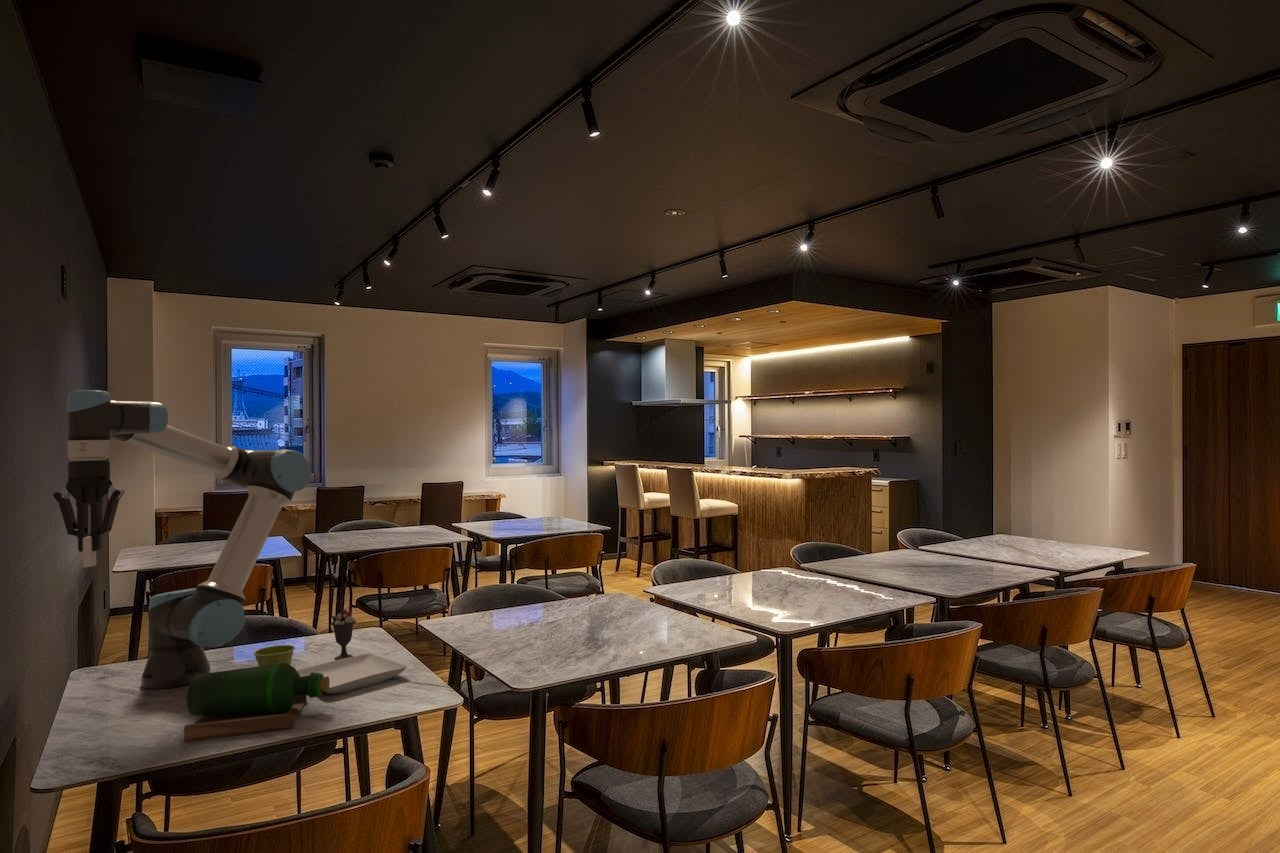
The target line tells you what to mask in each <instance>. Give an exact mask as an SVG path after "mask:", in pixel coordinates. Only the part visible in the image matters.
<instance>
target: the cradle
mask: <svg viewBox="0 0 1280 853" xmlns="http://www.w3.org/2000/svg"><path fill="white" fill-rule="evenodd" d="M306 702H307V696H299V697H298V699H297V700H296V702H295V703H294V704H293V705H292V707H291V708H289V709H288V710H286V711H285V712H284V713H266V714H238V715H210V716H203V717H202V719H201V720H200V721H199V722H198V723H191V724H185V725H184V727H183V737H184V738H183V741H184V742H193V741H201V740H209V739H217V738H218V739H219V738H225V737H234V736H243V735H252V734H261V733H269V732H277V731H284V730H285V731H286V730H292V728H293V727H294V725H295V723H296V722H297V719H298V717H299V715H300V714H301V712H302V710H303V708H304V706H305V705H306Z"/></svg>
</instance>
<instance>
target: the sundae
mask: <svg viewBox="0 0 1280 853" xmlns="http://www.w3.org/2000/svg"><path fill="white" fill-rule="evenodd" d="M352 605H353V604H352V603H349V605H348V606H347V607H346V608H345V609H343V610H342V611H341V612H340V613H338V614H337V615H336V616H334V615H331V618H332V622H330V623H329V624H330V625H331V626H332V627H333V630H334V639H335V642H336V643H337V645H339V646H340V647H341V652H340V654H339V655H338V656H336V657H334V661H335V660H340V659H344V658H349V657H354V655H353V654H348V652H347V645H348V644H349V643H350V642H352V636H353V631H354V630H353V629H354V625H355V624H356V623H357V620H356V619H355V618H354V616H353V615H352V612H351V611H350V608H351V606H352Z"/></svg>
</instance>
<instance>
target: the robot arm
mask: <svg viewBox="0 0 1280 853" xmlns="http://www.w3.org/2000/svg"><path fill="white" fill-rule="evenodd" d="M66 405H67V406H66V413H67V414H66V415H67V418H66V420H67V458H68V459H69V460H71V461H68V462H67V482H66V483H65V487H64V488H63V489H62V490H60V491H57V492H53V494H52V496H53V498H54V499H55V500H56V501H57V503H58V506H59V508H60V512H61V516H62V520H63V522H64V526H65V530H66V532H67V535H69V536H74V537H77V550H78V552H79V553H81V552H82V568H92V567H95V566H96V565H97V551H101V549H102V536H103V535H104V534H107V533H109V532H111V531H112V529H113V528H112V527H113V524H114V520H115V517H116V513H117V510H118V507H119V502H120V499H121V498H122V497H123V495H124V494H125V491H124V490H123V489H119V488H117V487H115V486H113V482H112V480H111V461H110V460H108V458H110V457H111V438H113V439H115V440H119V441H122V442H124V443H128V444H130V445H133V446H136V447H139V448H142V449H145V450H147V451H151V452H153V453H156V454H160V455H162V456H164V457H168V458H171V459H174V460H177V461H179V462H182V463H185V464H187V465H192V466H194V467H197V468H200V469H202V470H205V471H209V472H211V473H213V475H214V476H215V478H218V479H220V480H223V481H226V482H229V483H231V484H234V485H236V486H239V487H241V488H245V489H246V492H247V493H248V494H247V495H248V498H247V499H246V501H245V504H244V506H243V508H242V510H241V512H240V514H239V516H238V517H237V520H236V522H235V524H234V526H233V528H232V530H231V531H230V535H229V536H228V538H227V540H226V542H225V545H224V546H223V547H222V550H221V552H220V555H219V556H218V558H217V561H216V563H215V565H214V567H213V569H212V570H211V572H210V575H209V576H208V579H207V580H205V581H203V582H202V583H199V584H198V585H197V586H196V587H193V588H187V589H185V588H184V589H179V590H174V591H168V592H163V593H159V594H155V595H153V596H151V598H150V600H149V604H148V627H149V628H148V630H149V631H148V632H149V633H148V634H149V636H148V638H149V639H148V640H149V641H148V642H149V652H148V653H149V655H148V656H147V657H148V658H147V659H146V662H145V667H144V668H143V672H142V675H141V687H142V688H144V689H148V690H149V689H151V690H163V689H171V688H177V687H183V686H189V685H190V683H191V681H192V679H193V678H194V677H195V676H197V675H199V674H206V673H211V664H210V661H209V659H208V657H207V654H206V652H205V649H204V647H211V648H212V647H220V646H223V645H226V644H227V643H230V642H231V641H232V640H234V639H235V638H236V637H237V636H238V635H239V634H240V632H241V631H242V629H243V628H244V625H245V620H246V615H245V609H244V607H243V605H244V603H245V600H246V596H245V594H244V593H243V592H244V591H243V590H244V589H245V586H246V584H247V582H248V580H249V577H250V576H251V573H252V571H253V569H254V566H255V565H256V562H257V560H258V559H259V556H260V554H261V552H262V550H263V548H264V545H265V543H266V541H267V539H268V537H269V535H270V533H271V530H272V529H273V526H274V524H275V521H276V520H277V517H278V516H279V513H280V511H281V509H282V507H285V506H287V505H289V504H290V503H291V501H292V499H293V497H294V495H295V493H297V492H300V491H301V490H303V489H305V488H306V487H307V485H308V484H309V482H310V480H311V466H309V465H310V464H309V461H308V460H307V458H306V456H304V455H303V454H302V453H301V452H299V451H297V450H293V449H285V448H282V449H272V450H271V449H270V450H264V449H263V450H261V449H259V450H254V449H245V448H241V447H237V446H234V445H229V446H224V445H221V444H219V443H216V442H214V441H211V440H208V439H206V438H203V437H200V436H198V435H195V434H192V433H190V432H186V431H184V430H182V429H179V428H177V427H173V426H171V425H168V422H169V411H168V410H167V407H166V405H164V404H163V403H162V402H156V401H155V402H154V401H149V400H148V401H142V400H141V401H135V400H134V401H133V400H131V401H130V400H113V399H111V394H110V393H109V392H108V391H105V390H99V389H98V390H97V389H96V390H95V389H77V390H72V391H70V392H69V393H68V396H67V404H66ZM108 493H109V494H108ZM107 494H108V497H109V498H108V501H107V503H106V508H105V511H104V515H103V513H102V511H103V509H102V508H103V507H102V506H103V502H104V498H105V496H107ZM71 496H72V498H74V500H75V506H76V516H75V513H74V508H73V505H72V503H71V500H70V497H71ZM89 506H90V532H89Z"/></svg>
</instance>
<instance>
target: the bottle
mask: <svg viewBox="0 0 1280 853" xmlns="http://www.w3.org/2000/svg"><path fill="white" fill-rule="evenodd" d="M297 670H298V669H296V668H295V667H294V666H293V665H292V664H291V665H289V664H287V663H280V664H272V665H265V666H258V665H257V666H252V667H244V668H237V669H236V668H235V669H230V670H229V669H228V670H223V671H222V670H221V671H216V672H210V673H206V674H199V675H197V676H195V677H194V678H193V679H192V681H191V683H190V684H188V688H187V692H186V697H185V698H186V702H185V703H186V708H187V710H188V712H189V715H191V716H193V717H204V716H210V715H238V714H266V713H284V712H285V711H286V710H288V709H289V708H291V707H292V705H293V704H294V703H295V702H296V700H297V699H298V697H299V696H308V698H310V699H312V698H316V697H319V696H322V695H323V693H324V692H325V691H328V690H329V684H330V682H329V677H328V676H327V677H324V675H323V674H322V673H313V672H312V673H311V674H310V675H308V676H302V677H300V675H299V673H298V672H297Z"/></svg>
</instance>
